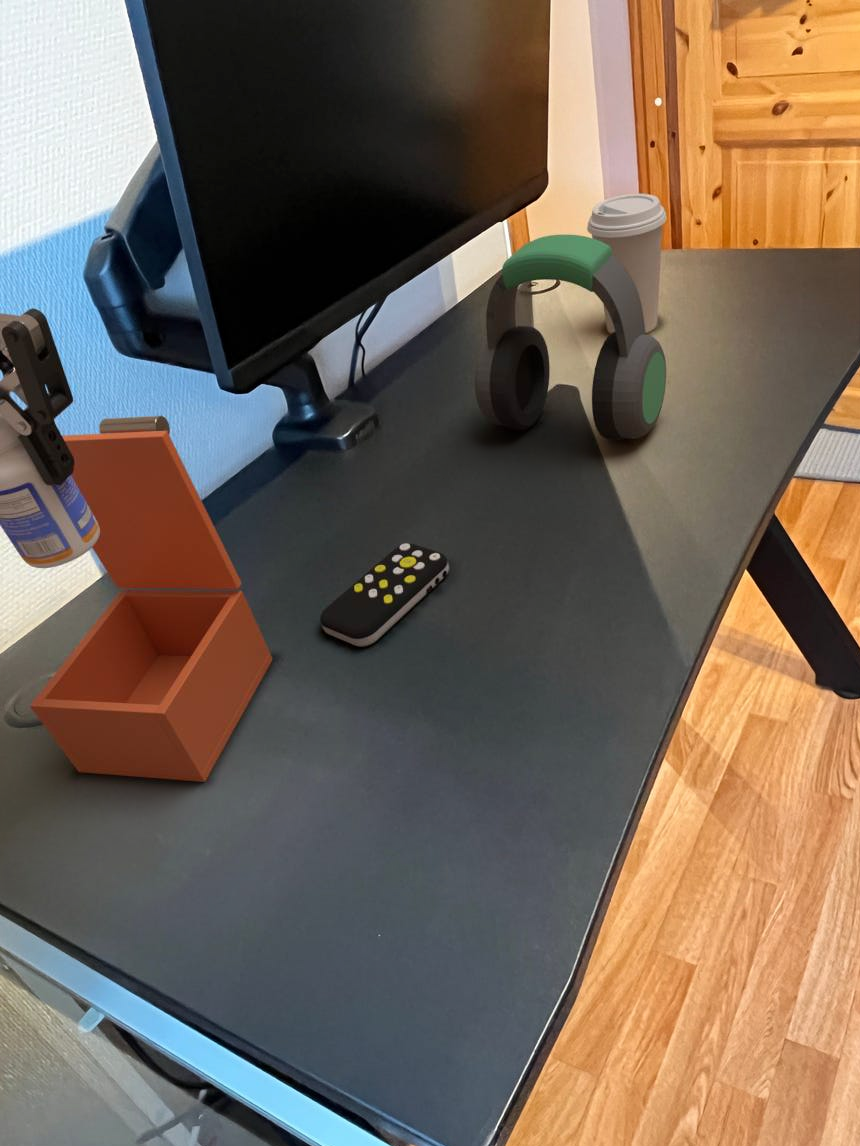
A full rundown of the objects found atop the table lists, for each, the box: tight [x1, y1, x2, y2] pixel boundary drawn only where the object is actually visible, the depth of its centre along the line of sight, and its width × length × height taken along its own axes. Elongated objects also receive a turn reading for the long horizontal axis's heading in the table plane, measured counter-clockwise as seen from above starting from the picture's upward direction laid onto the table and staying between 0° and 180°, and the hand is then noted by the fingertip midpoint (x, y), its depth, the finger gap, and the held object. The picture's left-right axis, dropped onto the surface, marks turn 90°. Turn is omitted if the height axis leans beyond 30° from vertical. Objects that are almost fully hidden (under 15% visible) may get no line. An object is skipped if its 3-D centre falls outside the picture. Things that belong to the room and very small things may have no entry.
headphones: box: [474, 234, 667, 441], centre depth 91 cm, size 19×11×20 cm, turn 63°
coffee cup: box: [586, 193, 668, 334], centre depth 109 cm, size 10×10×15 cm
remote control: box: [319, 543, 450, 647], centre depth 79 cm, size 6×13×2 cm, turn 143°
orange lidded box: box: [29, 589, 274, 783], centre depth 71 cm, size 14×12×8 cm
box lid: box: [61, 415, 242, 590], centre depth 69 cm, size 14×12×5 cm
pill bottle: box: [0, 415, 100, 569], centre depth 57 cm, size 5×5×10 cm
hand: (22, 479), depth 56 cm, fingers closed on pill bottle, 5 cm apart
